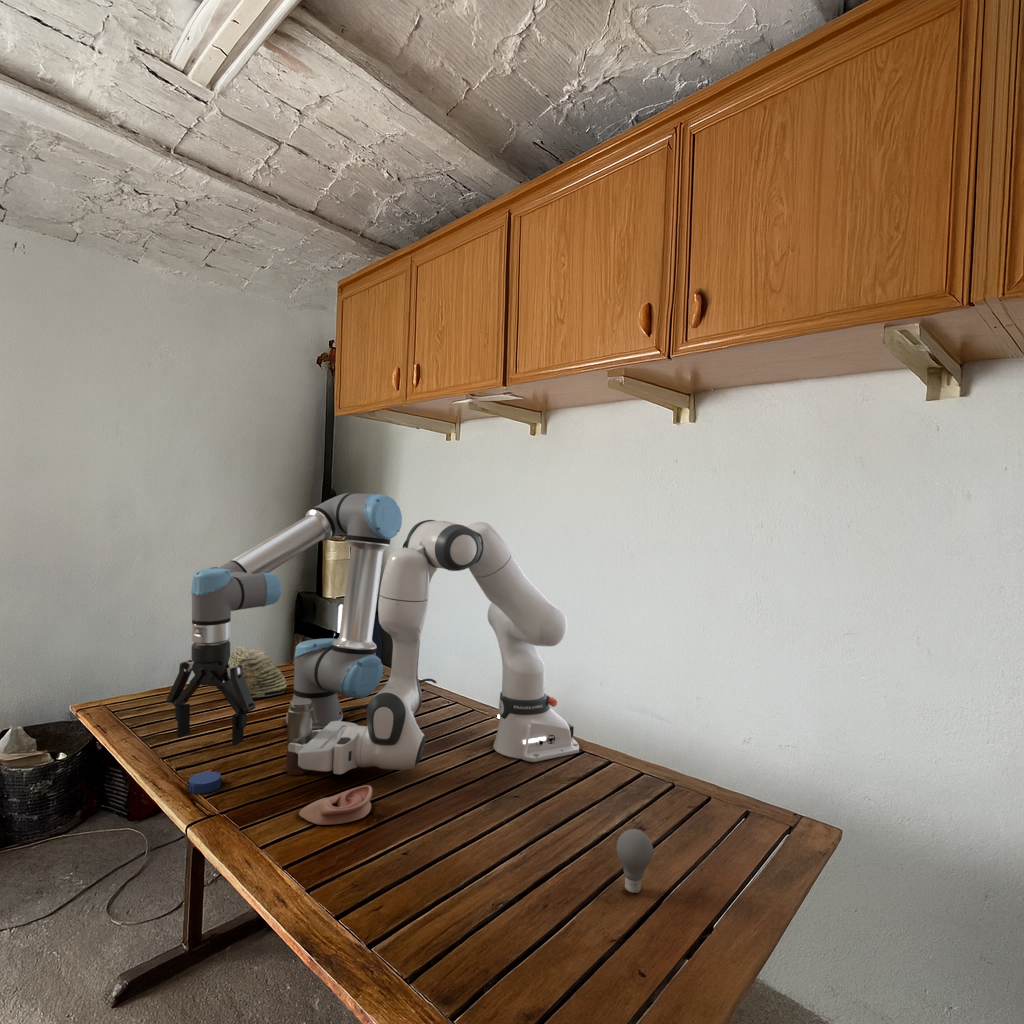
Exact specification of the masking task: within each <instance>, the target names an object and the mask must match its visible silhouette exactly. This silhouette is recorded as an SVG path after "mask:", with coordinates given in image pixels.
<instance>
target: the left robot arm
mask: <svg viewBox="0 0 1024 1024" xmlns="http://www.w3.org/2000/svg"><path fill="white" fill-rule="evenodd" d="M402 523H403V516H402V511H401V508H400V506H399V505H398V503H397V501H396V500H395V499H393V497H391V496H389V495H385V494H379V493H355V492H346V493H342V494H339V495H336V496H334V497H331V498H329V499H327V500H325V501H324V502H322V503H320V504H318V505H315V506H314V507H312V508H310V509H309V510H308V511H307V512H306V514H305V517H303V518H301V519H300V520H297V521H296V522H294V523H293V524H291V525H289V526H287V527H285V528H284V529H282V530H280V531H279V532H277V533H275V534H274V535H272V536H270V537H269V538H267V539H266V540H264V541H262V542H260V543H259V544H257V545H255V546H253V547H252V548H250V549H248V550H246V551H245V552H243V553H241V554H240V555H238V556H236V557H235V558H233V559H231V560H229V561H228V562H226V563H224V564H223V565H220V566H211V567H206V568H203V569H199V570H196V571H194V572H193V575H192V580H191V590H190V594H191V642H192V645H191V657H190V658H191V659H188V660H185V661H182V662H180V663H179V668H178V669H179V670H178V673H177V676H176V678H175V679H174V682H173V684H172V687H171V689H170V691H169V693H168V696H167V697H166V702H167V704H172V705H173V706H174V709H175V710H174V711H175V712H174V713H175V715H174V716H175V717H174V719H175V721H177V738H178V739H181V738H183V737H185V736H187V735H189V734H190V732H191V730H190V729H191V728H190V727H191V725H190V724H191V721H190V720H191V703H188V702H189V700H190V698H191V697H192V696H193V695H194V693H196V691H197V690H198V688H199V687H200V686H210V687H216V689H217V690H219V691H221V694H222V695H223V696H224V698H225V699H226V701H227V703H229V705H230V707H231V709H232V710H233V711H234V712H235V713H233V714H232V718H231V721H232V722H231V724H232V725H231V746H234V747H235V746H237V745H239V744H240V743H242V742H244V740H245V739H244V738H245V737H244V735H245V733H244V732H245V731H244V729H245V728H246V727H247V724H248V723H247V722H248V721H247V718H248V716H247V714H248V713H249V712H251V711H253V710H255V709H256V704H255V702H254V699H253V697H252V696H251V694H250V691H249V689H248V686H247V684H246V681H245V679H244V677H243V669H242V666H241V665H238V666H236V667H230V666H229V664H228V661H229V659H230V657H231V642H230V639H231V638H232V637H231V636H232V635H231V632H232V631H231V630H232V629H231V625H232V624H231V619H232V618H231V615H232V612H235V611H240V610H241V611H242V610H247V609H254V608H264V607H267V606H270V605H274V604H276V603H277V602H279V600H280V598H281V597H282V583H281V580H280V578H279V577H278V575H276V574H275V573H273V572H272V571H274V570H276V569H277V568H279V567H281V566H282V565H284V564H285V563H287V562H289V561H290V560H292V559H293V558H295V557H297V556H298V555H300V554H302V553H303V552H305V551H306V550H308V549H309V548H311V547H313V546H314V545H316V544H318V543H319V542H320V541H321V542H327V541H329V540H330V539H332V538H334V537H338V536H344V535H346V539H345V541H346V543H347V544H348V545H349V547H350V554H349V562H348V570H347V578H346V585H345V591H344V598H343V607H342V613H341V614H342V615H341V621H340V629H339V636H338V638H331V637H329V638H317V639H316V638H315V639H308V640H304V641H301V642H299V643H298V644H297V645H296V646H295V652H294V656H293V658H294V670H293V671H294V672H293V695H292V696H293V697H292V699H291V701H292V700H294V699H298V698H307V699H310V700H311V701H312V704H311V707H313V723H312V731H313V730H319V729H321V730H322V729H324V728H325V727H326V726H327V725H328V724H329V723H330V722H332V721H343V722H344V714H343V712H345V711H351V710H355V709H364V708H367V707H368V704H369V703H367V704H365V703H364V704H359V705H351V706H346V707H342V706H341V702H340V699H339V695H340V696H343V697H346V698H349V699H350V698H352V699H365V698H367V697H368V696H369V695H371V694H372V693H373V692H374V690H376V689H377V688H378V686H379V685H380V682H381V681H382V677H383V674H384V665H383V662H382V660H381V658H379V656H377V649H378V647H377V646H378V645H377V644H376V643H375V642H374V641H373V635H374V626H375V619H376V612H377V605H378V604H377V603H378V597H379V595H378V594H379V589H380V579H381V572H382V566H383V565H382V563H383V558H384V557H383V556H384V552H385V550H386V549H388V548H389V547H390V546H391V540H392V539H393V538H395V537H396V536H397V535H398V533H400V530H401V528H402V526H403V525H402ZM192 672H193V674H194V676H193V677H192V678H191V679H190V681H189V678H190V676H191V675H192ZM228 673H229V676H228ZM230 677H231V679H230ZM223 681H225V682H224V683H223ZM188 682H189V683H188ZM424 682H432V683H433V684H437V683H438V681H436V680H435V679H433V678H423V679H420V680H419V684H423V683H424ZM187 683H188V684H187ZM232 684H233V685H232ZM186 685H187V686H186ZM289 708H290V706H289ZM289 708H288V709H289ZM285 726H286V728H288V712H287V713H286V715H285Z"/></svg>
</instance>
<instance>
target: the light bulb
mask: <svg viewBox="0 0 1024 1024" xmlns="http://www.w3.org/2000/svg"><path fill="white" fill-rule="evenodd" d="M615 849H616V854H617V857H618V859H619V861H620V863H621V865H622V867H623V873H624V874H623V875H624V876H625V878H624V888H625V890H627V891H628V892H630V893H634V894H635V893H639V892H640V891H641V889H642V887H641V886H642V879H643V877H644V875H645V871H646V868H647V867H648V866H649V864H650V863H651V861H652V859H653V855H654V847H653V843H652V841H651V838H649V836H648V835H647V834H646V833H645V832H643V831H642V830H641V829H636V828H629V829H627V830H625V831H623V832H622V833H621V834H620V835H619V837H618V839H617V841H616V847H615Z"/></svg>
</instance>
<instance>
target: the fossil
mask: <svg viewBox="0 0 1024 1024" xmlns="http://www.w3.org/2000/svg"><path fill="white" fill-rule="evenodd" d="M228 664H229V666H230V667H236V666H238V665H241V666H242V669H243V677H244V679H245V681H246V684H247V686H248V689H249V691H250V694H251V696H252V698H264V697H271V696H275V695H281V694H284V693H285V691H286V689H287V687H288V686H287V680H286V678H285V676H284V674H283V673H282V672H281V669H279V668H278V667H277V665H276V663H275V662H274V660H273V659H272V658H271V657H270V656H269V655H268V654H267V653H266V652H265V650H264V649H263V648H260V647H258V648H251V647H247V646H246V647H245V646H238V647H237V648H236V649H235V650H233V651H232V653H231V654H230V658H229V661H228ZM228 676H229V673H228ZM230 679H231V677H230ZM224 682H225V681H223V682H222V683H224ZM232 685H233V684H232Z"/></svg>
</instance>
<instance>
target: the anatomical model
mask: <svg viewBox="0 0 1024 1024" xmlns="http://www.w3.org/2000/svg"><path fill="white" fill-rule="evenodd" d="M372 795H373V787H372V786H371V785H369V784H367V785H366V784H365V785H361V786H356V787H354V788H351V789H350V788H349V789H347V790H345V791H341V792H340V793H337V794H334V795H332V796H329V797H328V796H327V797H323V798H320V799H317V800H315V801H313V802H311V803H309V804H307V805H306V806H304V807H303V808H301V809H300V810H299V812H298V815H299V817H300V818H302V819H304V820H306V821H307V822H310V823H311V824H315V825H319V826H328V825H339V824H346V823H351V822H354V821H357V820H361V819H363V818H365V817H366V816H367V815H368V814H369V813H370V812H371V809H372V803H371V798H372V797H373V796H372Z"/></svg>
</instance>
